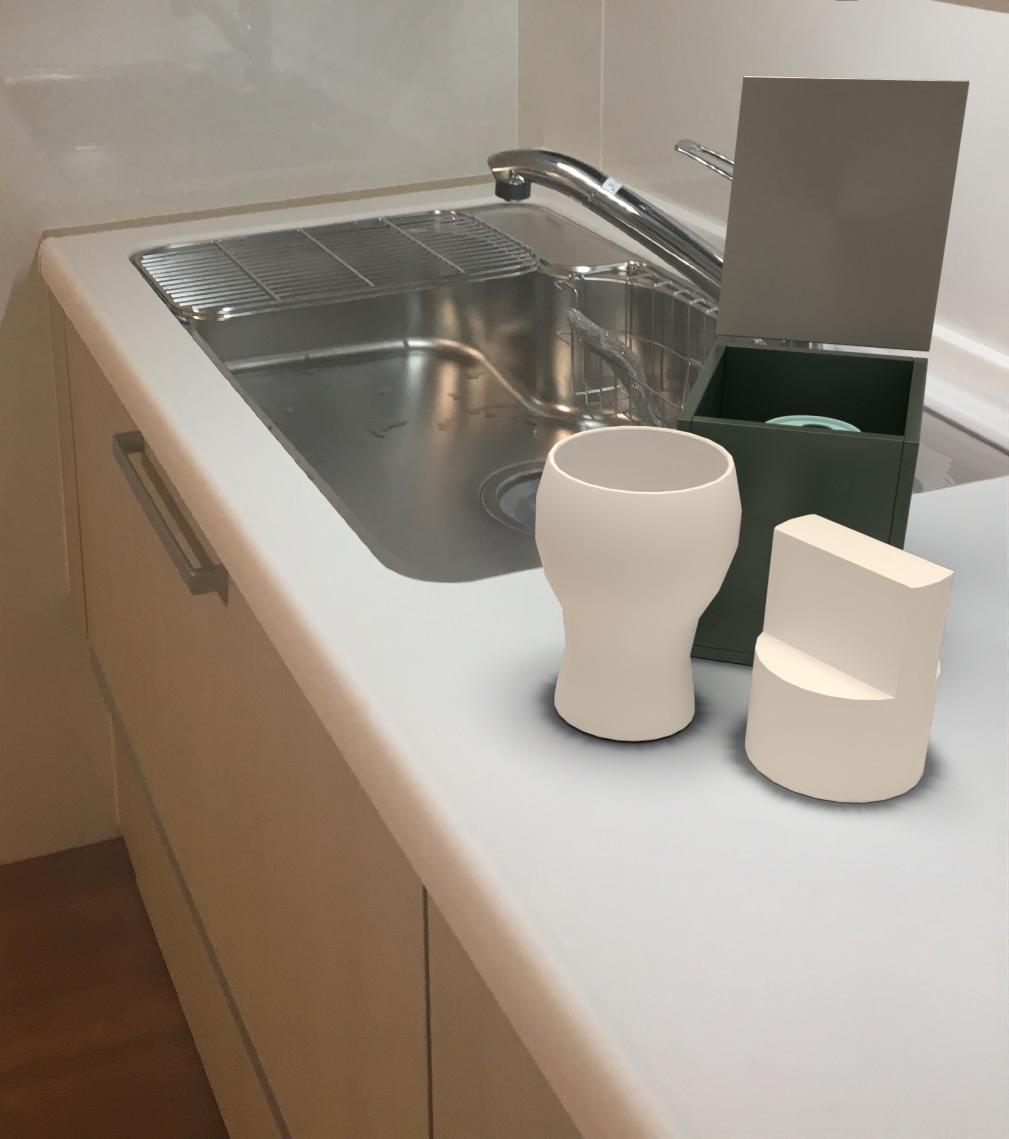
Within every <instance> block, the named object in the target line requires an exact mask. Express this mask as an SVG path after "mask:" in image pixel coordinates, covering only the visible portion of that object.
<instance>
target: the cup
mask: <svg viewBox="0 0 1009 1139" xmlns="http://www.w3.org/2000/svg"><path fill="white" fill-rule="evenodd" d="M535 496H536V497H535V498H536V499H535V522H534V526H535V528H534V535H535V536H534V542H535V544H536V548H537V552H538V555H539V559H540V562H541V566H542V570H543V574H544V577H545V578H546V581H547V582H548V584H549V586H550V589H551V590H552V592H553V593H554V595H555V598H556V600H557V602H558V603H559V605H560V607H561V609H562V621H563V629H564V639H565V646H564V650H563V654H562V658H561V662H560V666H559V670H558V674H557V680H556V686H555V691H554V708H555V709H556V711H557V713H558V715H559V716H560V717H561V719H563V720H564V721H565V722H566V723H567V724H569V725H571V726H572V727H575V728H576V729H578V730H580V731H582V732H584V733H587V734H590V735H593V736H596V737H599V738H605V739H610V740H615V741H627V742H640V741H651V740H657V739H661V738H664V737H668V736H672V735H674V734H676V733H677V732H679V731H682V730H683V729H685V728H686V727H687V726H688V725H689V724H690V723H691V722H692V720H693V718H694V716H695V712H696V704H695V687H694V686H695V685H694V676H693V668H692V667H693V666H692V660H691V659H692V658H691V656H690V653H691V649H692V645H693V641H694V637H695V632H696V628H697V624H698V620H699V618H700V616H701V615H702V614H703V612H704V611H705V609H706V608H707V607H708V605H709V604H710V602H711V601H712V600H713V598H714V597H715V595H716V594H717V593H718V591H719V589H720V587H721V585H722V583H723V580H724V578H725V576H726V573H727V571H728V569H729V566H730V564H731V562H732V559H733V557H734V554H735V552H736V549H737V547H738V542H739V532H740V523H741V513H742V508H741V502H740V495H739V489H738V483H737V476H736V470H735V465H734V461H733V458H732V456H731V455H730V454H729V453H728V452H727V451H726V450H725V449H724V448H723V447H722V446H720V445H718V444H716V443H715V442H713V441H711V440H709V439H706V438H703V437H700V436H698V435H695V434H692V433H688V432H683V431H678V430H676V429H672V428H666V427H657V426H649V425H619V426H617V425H616V426H606V427H604V426H603V427H598V428H593V429H588V430H582V431H580V432H576V433H573V434H571V435H567V436H565V437H564V438H563V439H561V440H559V441H558V442H555V444H554V445H553V446H552V447H551V449H550V451H549V452H548V453H547V456H546V460H545V464H544V467H543V471H542V474H541V477H540V481H539V484H538V488H537V491H536V494H535Z"/></svg>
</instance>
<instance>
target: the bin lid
mask: <svg viewBox="0 0 1009 1139" xmlns="http://www.w3.org/2000/svg"><path fill="white" fill-rule="evenodd" d="M969 88H970V80H963V79H961V80H958V79H957V80H956V79H915V78H914V79H910V78H865V77H864V78H863V77H862V78H861V77H820V76H819V77H818V76H815V77H813V76H772V75H771V76H769V75H768V76H767V75H765V76H764V75H763V76H762V75H743V77H742V84H741V91H740V92H741V94H740V102H739V114H738V121H737V129H736V130H737V131H736V140H735V150H734V157H733V158H734V159H733V165H732V166H733V168H732V177H731V185H730V195H729V205H728V212H727V213H728V214H727V222H726V230H725V241H724V250H723V260H722V267H721V268H722V269H721V278H720V287H719V296H718V305H717V316H716V323H715V324H716V325H715V334H714V335H715V336H719V337H731V338H732V337H733V338H734V337H735V338H746V339H759V340H769V341H771V340H772V341H783V342H784V341H785V342H798V343H811V344H823V345H837V346H848V347H849V346H850V347H862V348H873V349H874V348H875V349H888V350H897V351H898V350H901V351H912V352H924V353H925V352H926V353H928V352H930V351H931V345H932V337H933V331H934V324H935V319H936V318H935V317H936V310H937V304H938V296H939V292H940V285H941V277H942V270H943V265H944V264H943V263H944V257H945V249H946V243H947V236H948V231H949V223H950V217H951V210H952V205H953V195H954V190H955V183H956V178H957V169H958V164H959V156H960V150H961V142H962V136H963V130H964V122H965V115H966V108H967V104H968V103H967V102H968V97H969V96H968V95H969Z"/></svg>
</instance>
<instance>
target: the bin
mask: <svg viewBox="0 0 1009 1139" xmlns="http://www.w3.org/2000/svg"><path fill="white" fill-rule="evenodd" d="M928 366H929V358H928V357H919V356H916V357H915V356H909V355H908V356H907V355H896V354H883V353H882V354H881V353H871V352H858V351H857V352H856V351H844V350H833V349H832V350H831V349H821V348H820V349H819V348H809V347H796V346H785V345H784V346H782V345H769V344H759V343H758V344H757V343H745V342H732V341H728V342H727V341H720V340H719V341H718V340H717V341H714V344H713V345H712V348H711V349H710V352H709V353H708V355H707V358H706V359H705V362H704V364H703V366H702V368H701V370H700V373H699V374H698V376H697V378H696V380H695V383H694V384H693V386H692V388H691V390H690V392H689V395H688V397H687V399H686V401H685V403H684V405H683V407H682V409H681V411H680V413H679V416H678V418H677V419H676V429H675V430H678V431H683V432H688V433H692V434H695V435H698V436H700V437H703V438H706V439H709V440H711V441H713V442H715V443H716V444H718V445H720V446H722V447H723V448H724V449H725V450H726V451H727V452H728V453H729V454H730V455H731V456H732V458H733V461H734V465H735V470H736V476H737V483H738V489H739V495H740V502H741V508H742V513H741V523H740V532H739V542H738V547H737V549H736V552H735V554H734V557H733V559H732V562H731V564H730V566H729V569H728V571H727V573H726V576H725V578H724V580H723V583H722V585H721V587H720V589H719V591H718V593H717V594H716V595H715V597H714V598H713V600H712V601H711V602H710V604H709V605H708V607H707V608H706V609H705V611H704V612H703V614H702V615H701V616H700V618H699V620H698V624H697V628H696V632H695V637H694V641H693V645H692V649H691V653H690V657H694V658H701V659H706V660H707V659H708V660H715V661H721V662H727V663H733V664H741V665H747V666H753V664H754V655H755V647H756V642H757V638H758V637H759V635H760V634H761V633H762V632H763V626H764V617H765V608H766V599H767V590H768V581H769V572H770V563H771V553H772V544H773V535H774V528H775V527H776V526H778V525H780V524H782V523H784V522H786V521H788V520H790V519H794V518H798V517H802V516H806V515H812V514H815V515H818V516H820V517H823V518H825V519H828V520H830V521H832V522H835V523H837V524H840V525H842V526H845V527H847V528H849V529H852V530H854V531H857V532H859V533H862V534H864V535H866V536H869V537H871V538H874V539H876V540H878V541H881V542H883V543H886V544H888V545H891V546H893V547H895V548H898V549H900V550H903V551H904V549H905V542H906V536H907V530H908V523H909V516H910V509H911V504H912V503H911V502H912V497H913V489H914V484H915V476H916V470H917V463H918V457H919V450H920V444H921V434H922V424H923V416H924V415H923V414H924V405H925V396H926V386H927V376H928ZM798 415H804V416H819V417H826V418H831V419H836V420H840V421H843V422H846V423H848V424H851V425H853V426H855V427H856V428H858V429H859V430H860V431H861V432H856V431H845V430H835V429H825V428H814V427H804V426H794V425H783V424H773V423H765V422H767V421H769V420H772V419H775V418H779V417H785V416H798Z"/></svg>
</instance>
